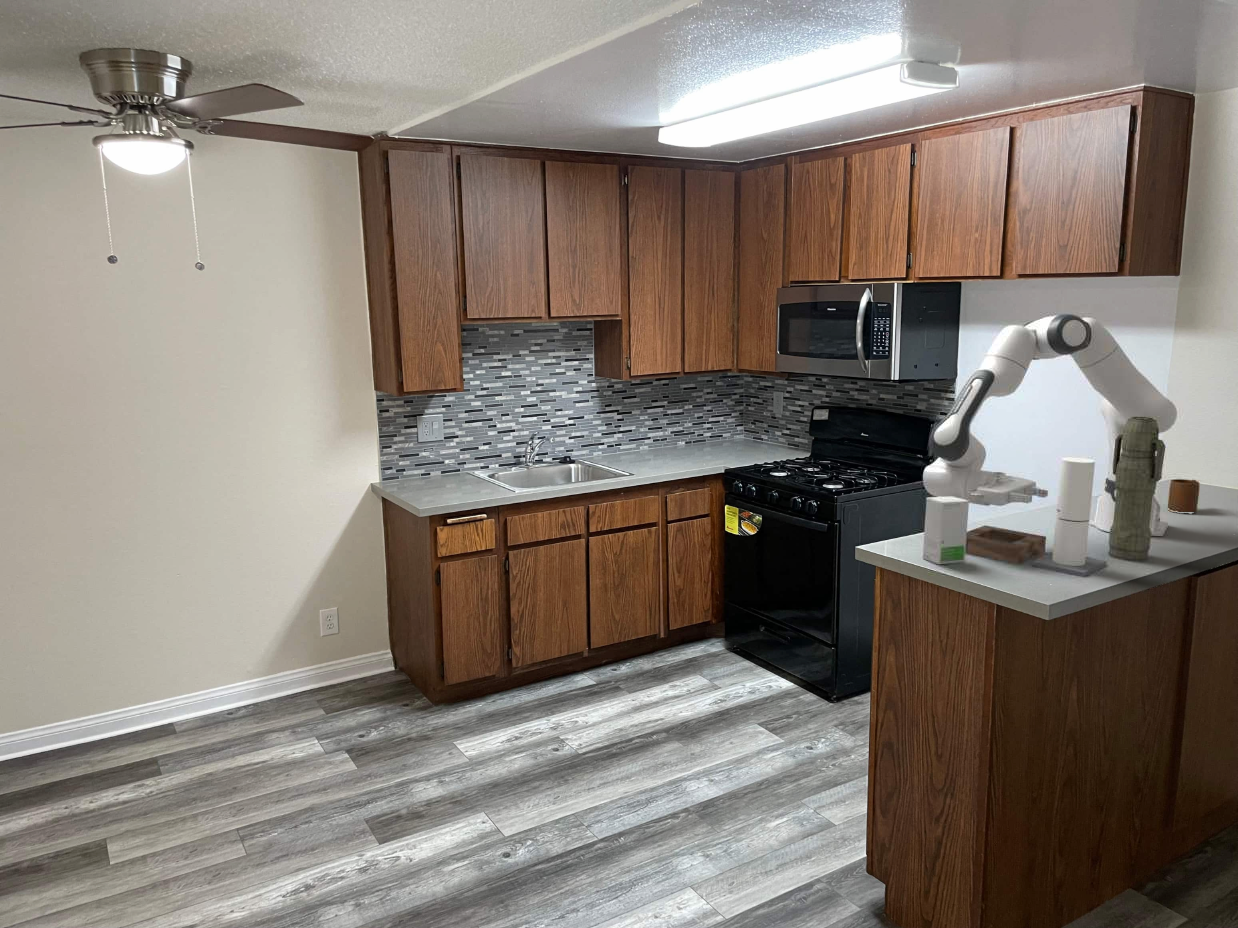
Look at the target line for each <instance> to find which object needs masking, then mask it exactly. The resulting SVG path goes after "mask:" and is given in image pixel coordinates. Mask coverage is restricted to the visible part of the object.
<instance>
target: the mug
mask: <svg viewBox="0 0 1238 928" xmlns="http://www.w3.org/2000/svg"><path fill="white" fill-rule="evenodd" d="M1168 492H1169V493H1168V501H1167V509H1168V508H1169V509H1170V510H1173V511H1178V512H1196V513H1197V509H1198V503H1199V496H1200V495H1199V494H1200V481H1197V480H1195V479H1186V478H1185V479H1182V478H1174V479H1171V480H1170V484H1169V491H1168Z"/></svg>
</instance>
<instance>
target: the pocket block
mask: <svg viewBox="0 0 1238 928" xmlns="http://www.w3.org/2000/svg"><path fill="white" fill-rule="evenodd" d="M1046 542H1047V536H1045V535H1044V536H1043V535H1039V534H1036V533H1035V534H1034V533H1030V532H1028V533H1027V532H1023V531H1018V530H1013V529H1006V528H1002V527H996V526H991V525H990V526H989V525H983V526H979V527H977V528H974V529H972V530H967V535H966V549H965V554H968V555H972V554H973V555H974V556H978V557H981V558H982V557H983V558H986V559H991V558H992V560H996V559H997V560H996V561H1001V560H1002V562H1005V561H1006V563H1010V562H1011V564H1015V563H1016V564H1015V565H1018V564H1021V563H1023V562H1025V561H1027V560H1030V559H1033V558H1034V557H1036V556H1038V555H1042V554H1043V553H1045V552H1046ZM973 555H972V556H973Z"/></svg>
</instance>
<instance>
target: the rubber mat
mask: <svg viewBox="0 0 1238 928" xmlns="http://www.w3.org/2000/svg"><path fill="white" fill-rule="evenodd" d="M1052 556H1053V552H1051V553H1048V554H1047V555H1044V556H1042V557H1040V558H1038V559H1035V560H1033V561H1031V566H1032V567H1034V566H1036V568H1040V569H1044V570H1045V569H1046V570H1049V571H1054V572H1059V573H1064V574H1069V575H1072V576H1077V577H1082V578H1084V577H1086V576H1088V575H1089V574H1091V573H1094V572H1096V571H1097V570H1100V569H1101V568H1104V567H1105V566H1106V565H1107V560H1103V559H1098V558H1093V557H1087V556H1086V558H1085V564H1084V565H1081V566H1069V565H1063V564H1059V563H1056V562H1054V561H1052Z"/></svg>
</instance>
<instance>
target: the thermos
mask: <svg viewBox="0 0 1238 928" xmlns="http://www.w3.org/2000/svg"><path fill="white" fill-rule="evenodd" d="M1159 434H1160V433H1159V429H1158V425H1157V421H1156V420H1153V418H1148V417H1131V418H1129V419H1128V420H1127V422H1126V424H1125V426H1124V429H1123V434H1121V435H1119V436H1118V437H1117V438H1116V439H1115V449H1114V459H1113V474H1114V475H1115V477H1116V479H1115V487H1116V490H1117V491H1116V501H1115V510H1114V520H1113V525H1112V526H1111V528H1110V532H1109V537H1108V546H1109V547H1108V552H1107V553H1108V556H1109V557H1110V558H1114V559H1117V560H1121V561H1128V562H1145V561H1147V560H1148V559H1149V551H1150V547H1151V539H1152V538H1151V537H1152V536H1151V531H1150V528H1149V526H1150V516H1151V507H1152V498H1153V492H1154V491H1155V492H1156V488H1157V483H1158V482H1159V481H1160V480H1162V475H1163V468H1164V467H1163V466H1164V459H1165V452H1166V445H1165V442H1164V441H1163V439H1159ZM1121 442H1122V454H1121V457H1120V452H1121ZM1155 455H1156V456H1155ZM1156 482H1157V483H1156Z"/></svg>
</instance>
